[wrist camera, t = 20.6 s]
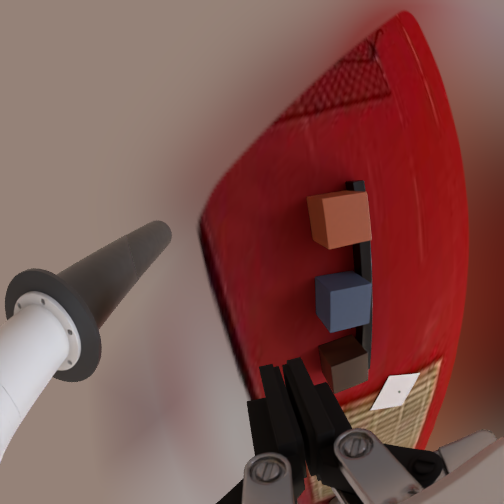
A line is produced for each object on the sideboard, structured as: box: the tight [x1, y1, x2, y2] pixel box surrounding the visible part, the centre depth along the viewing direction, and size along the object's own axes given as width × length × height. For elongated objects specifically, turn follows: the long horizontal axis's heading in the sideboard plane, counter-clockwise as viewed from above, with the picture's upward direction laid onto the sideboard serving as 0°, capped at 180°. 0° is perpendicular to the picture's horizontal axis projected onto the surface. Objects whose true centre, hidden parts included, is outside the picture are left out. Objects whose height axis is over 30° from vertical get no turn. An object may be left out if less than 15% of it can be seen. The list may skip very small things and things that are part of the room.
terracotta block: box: [306, 190, 372, 249], centre depth 28 cm, size 5×5×5 cm
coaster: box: [371, 373, 420, 410], centre depth 39 cm, size 8×8×1 cm
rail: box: [346, 180, 372, 369], centre depth 32 cm, size 2×26×2 cm, turn 10°
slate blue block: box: [315, 271, 371, 333], centre depth 30 cm, size 5×5×5 cm
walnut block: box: [318, 334, 368, 394], centre depth 33 cm, size 5×5×5 cm
